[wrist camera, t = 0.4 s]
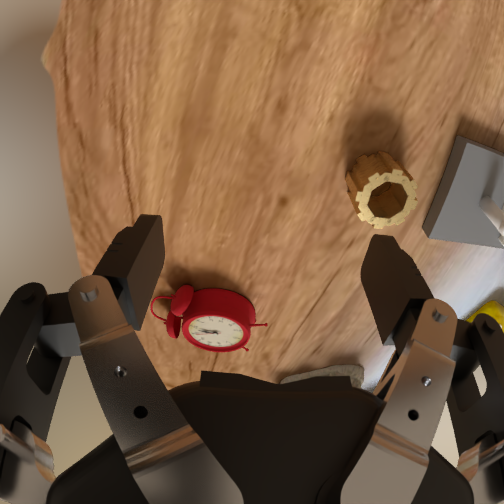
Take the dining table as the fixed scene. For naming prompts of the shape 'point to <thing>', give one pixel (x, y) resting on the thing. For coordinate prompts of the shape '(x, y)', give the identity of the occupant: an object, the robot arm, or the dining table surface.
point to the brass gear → (388, 203)
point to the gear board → (469, 197)
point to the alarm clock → (210, 318)
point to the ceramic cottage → (332, 374)
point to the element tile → (491, 312)
